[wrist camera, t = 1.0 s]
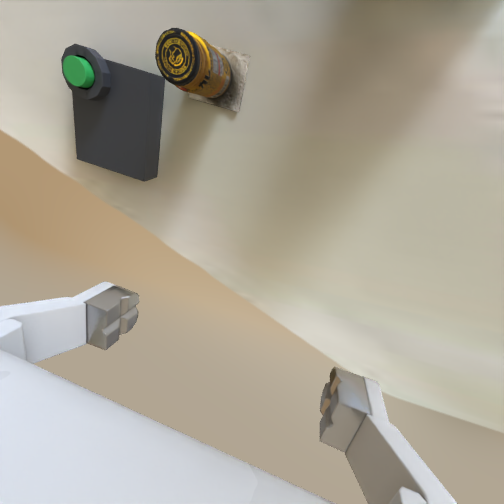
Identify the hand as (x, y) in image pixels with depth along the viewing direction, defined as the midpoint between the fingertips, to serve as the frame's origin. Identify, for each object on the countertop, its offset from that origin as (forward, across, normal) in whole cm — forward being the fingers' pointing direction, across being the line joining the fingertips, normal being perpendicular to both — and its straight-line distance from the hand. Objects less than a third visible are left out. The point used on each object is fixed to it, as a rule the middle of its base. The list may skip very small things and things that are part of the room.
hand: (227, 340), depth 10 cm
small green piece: (+28, +35, -12) cm, 47 cm away
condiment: (+34, +18, -16) cm, 42 cm away
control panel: (+34, +33, -7) cm, 48 cm away
